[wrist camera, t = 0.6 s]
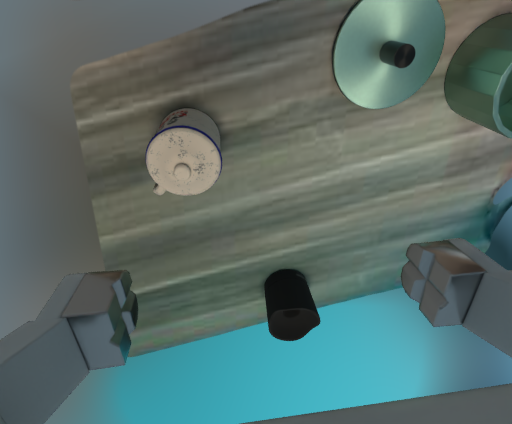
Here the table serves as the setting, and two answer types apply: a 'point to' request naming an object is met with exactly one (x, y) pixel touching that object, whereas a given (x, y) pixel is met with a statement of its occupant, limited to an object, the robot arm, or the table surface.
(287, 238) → the table surface
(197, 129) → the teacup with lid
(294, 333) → the pen holder
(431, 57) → the lid
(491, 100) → the pot
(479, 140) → the table surface
